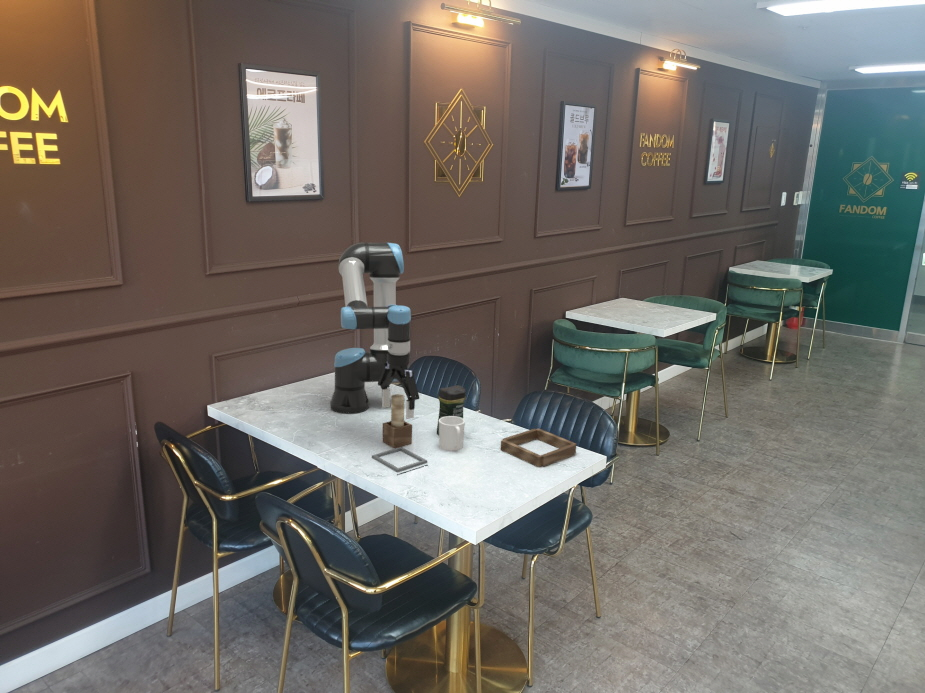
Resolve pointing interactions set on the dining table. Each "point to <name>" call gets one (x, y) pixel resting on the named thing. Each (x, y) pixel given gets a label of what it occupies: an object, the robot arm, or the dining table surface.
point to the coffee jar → (451, 402)
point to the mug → (451, 433)
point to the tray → (421, 461)
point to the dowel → (397, 410)
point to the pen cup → (397, 435)
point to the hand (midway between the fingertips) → (397, 412)
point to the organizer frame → (535, 459)
